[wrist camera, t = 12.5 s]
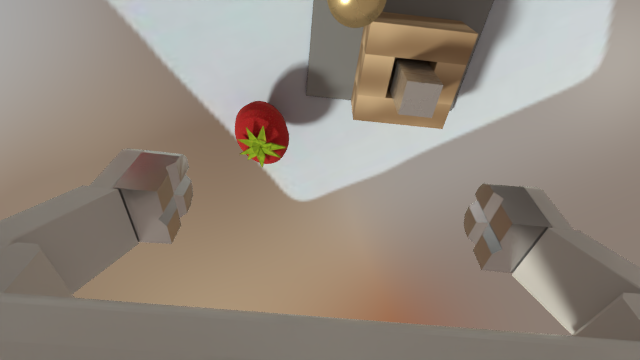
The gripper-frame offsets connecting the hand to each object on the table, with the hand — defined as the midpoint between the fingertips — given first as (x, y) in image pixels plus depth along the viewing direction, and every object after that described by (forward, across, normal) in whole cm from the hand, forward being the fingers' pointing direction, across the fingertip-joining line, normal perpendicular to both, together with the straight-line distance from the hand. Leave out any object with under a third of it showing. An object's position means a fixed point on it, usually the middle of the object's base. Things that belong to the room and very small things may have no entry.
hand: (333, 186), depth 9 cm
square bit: (+30, -9, +6) cm, 31 cm away
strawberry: (+31, +6, +14) cm, 34 cm away
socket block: (+30, -9, +6) cm, 32 cm away
